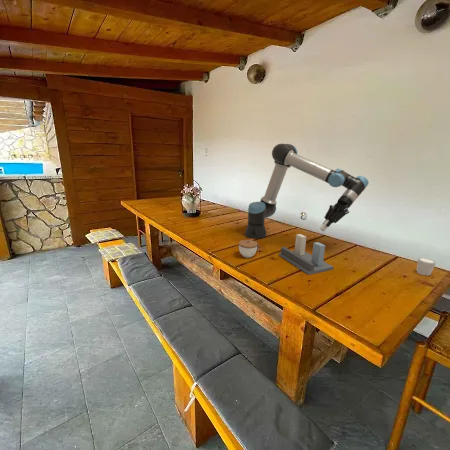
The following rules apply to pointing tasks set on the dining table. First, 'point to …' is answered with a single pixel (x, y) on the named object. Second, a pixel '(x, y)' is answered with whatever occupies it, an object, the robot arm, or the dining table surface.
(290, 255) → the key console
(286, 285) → the dining table surface
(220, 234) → the dining table surface
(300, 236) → the cream key
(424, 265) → the beige cylinder
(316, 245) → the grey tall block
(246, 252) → the lidded jar
